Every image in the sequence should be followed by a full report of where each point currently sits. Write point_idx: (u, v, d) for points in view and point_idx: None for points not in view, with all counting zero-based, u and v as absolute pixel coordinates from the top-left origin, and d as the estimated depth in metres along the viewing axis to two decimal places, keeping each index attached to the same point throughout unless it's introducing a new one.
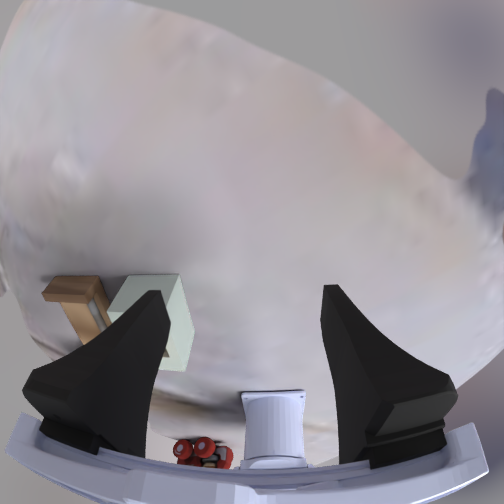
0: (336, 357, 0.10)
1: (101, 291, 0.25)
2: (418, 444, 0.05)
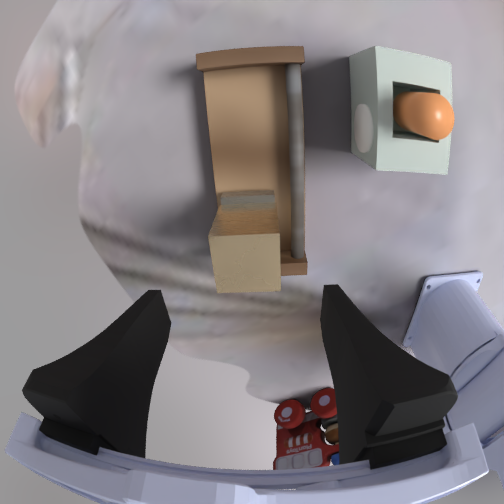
0: (336, 357, 0.10)
1: None
2: (418, 444, 0.05)
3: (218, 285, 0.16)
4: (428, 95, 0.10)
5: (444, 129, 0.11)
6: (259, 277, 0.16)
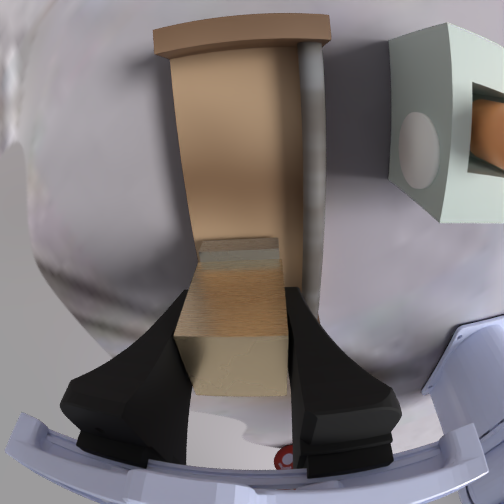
0: (290, 360, 0.10)
1: None
2: (360, 458, 0.05)
3: (197, 388, 0.10)
4: None
5: None
6: (256, 383, 0.10)
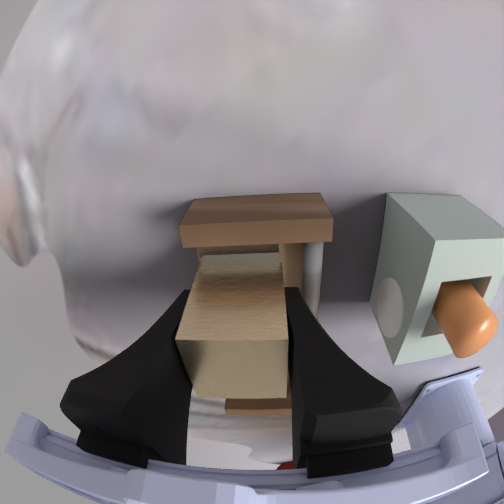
0: (290, 360, 0.10)
1: None
2: (360, 458, 0.05)
3: (197, 390, 0.10)
4: (478, 322, 0.08)
5: (480, 345, 0.09)
6: (256, 386, 0.10)
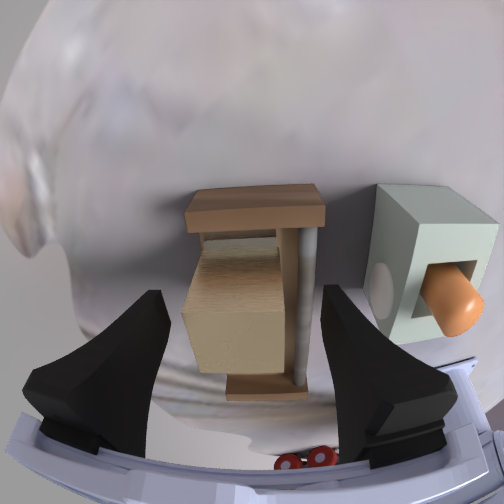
0: (336, 357, 0.10)
1: None
2: (418, 444, 0.05)
3: (201, 365, 0.11)
4: (463, 301, 0.09)
5: (468, 324, 0.10)
6: (256, 359, 0.11)
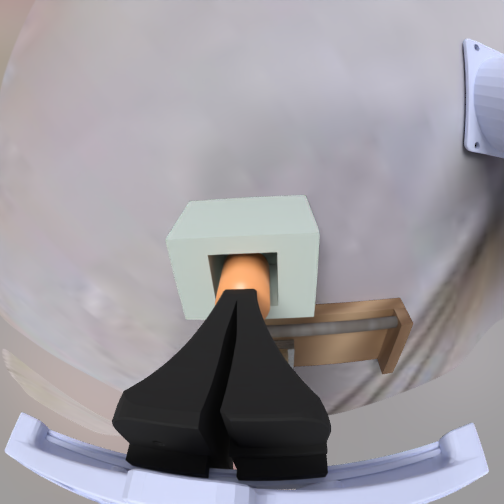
0: None
1: None
2: (290, 466, 0.06)
3: None
4: None
5: None
6: None
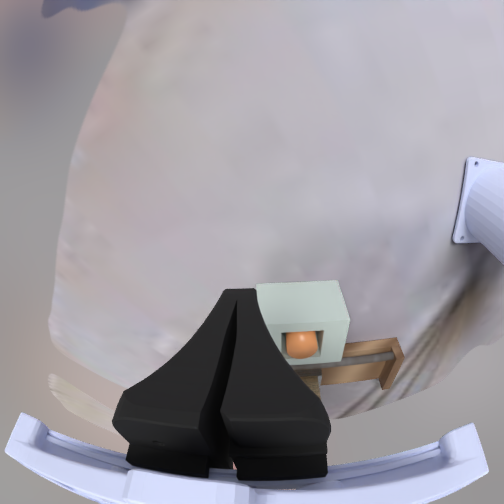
0: None
1: None
2: (291, 466, 0.06)
3: None
4: (289, 354, 0.21)
5: (310, 343, 0.21)
6: None
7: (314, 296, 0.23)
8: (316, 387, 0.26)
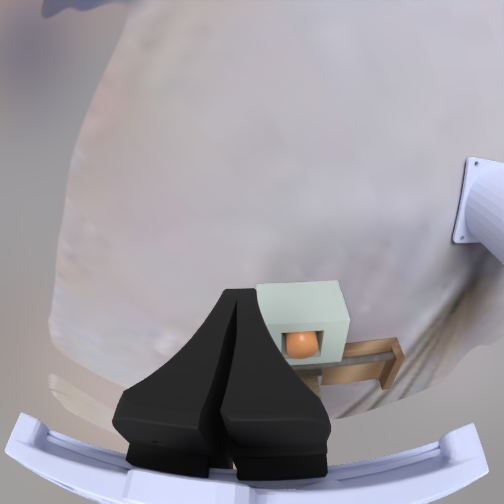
0: None
1: None
2: (290, 466, 0.06)
3: None
4: (289, 354, 0.21)
5: (310, 344, 0.21)
6: None
7: (314, 296, 0.23)
8: (316, 387, 0.26)
